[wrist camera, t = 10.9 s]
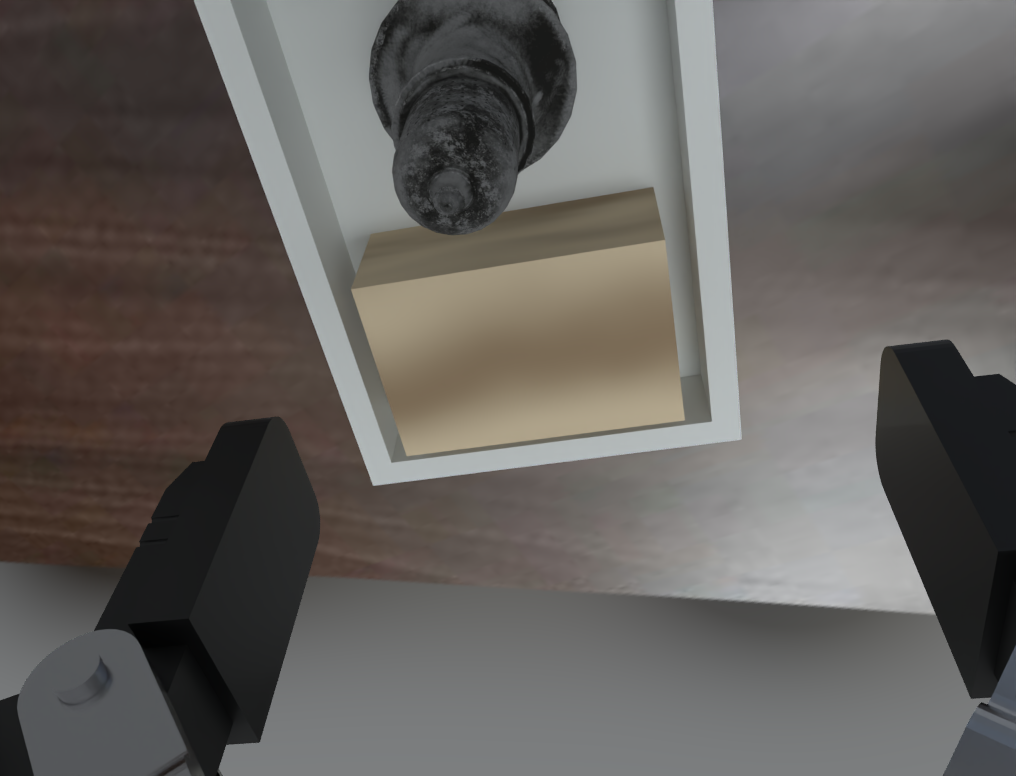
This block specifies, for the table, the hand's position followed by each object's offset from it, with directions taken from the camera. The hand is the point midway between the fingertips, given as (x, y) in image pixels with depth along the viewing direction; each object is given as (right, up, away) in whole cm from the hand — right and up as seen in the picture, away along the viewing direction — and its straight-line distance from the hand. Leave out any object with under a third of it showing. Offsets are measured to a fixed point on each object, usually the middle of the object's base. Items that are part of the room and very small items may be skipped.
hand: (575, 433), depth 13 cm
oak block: (0, +4, +21) cm, 22 cm away
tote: (-1, +8, +20) cm, 21 cm away
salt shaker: (-2, +11, +17) cm, 20 cm away
